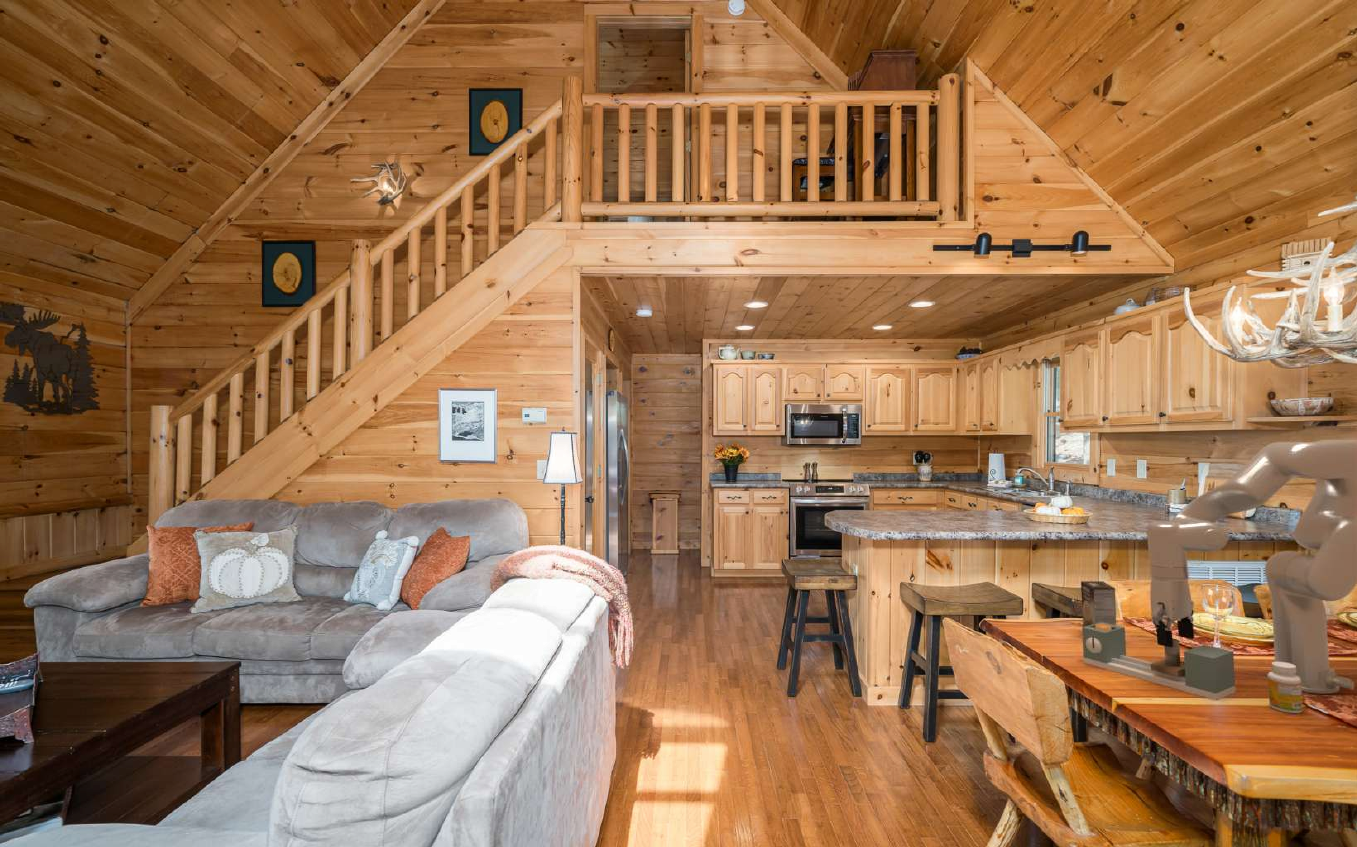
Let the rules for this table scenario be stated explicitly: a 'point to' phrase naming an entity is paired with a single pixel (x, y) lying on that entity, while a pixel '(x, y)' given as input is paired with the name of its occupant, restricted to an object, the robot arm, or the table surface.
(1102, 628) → the button
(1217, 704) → the table surface
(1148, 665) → the rail track
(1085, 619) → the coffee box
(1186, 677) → the near cabinet
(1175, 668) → the carriage
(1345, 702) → the table surface
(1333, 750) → the table surface
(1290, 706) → the supplement bottle
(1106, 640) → the far cabinet
